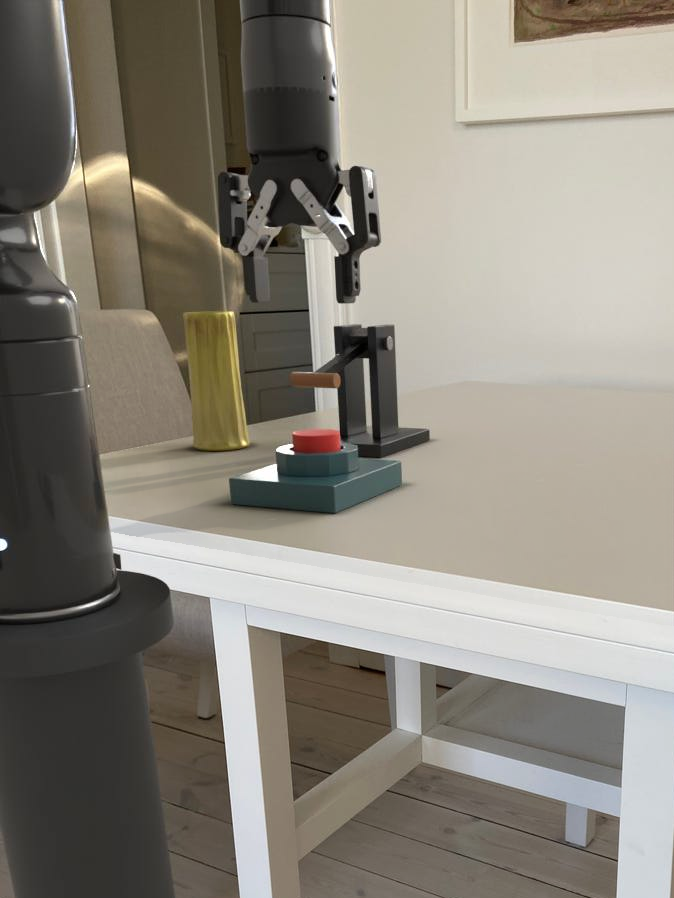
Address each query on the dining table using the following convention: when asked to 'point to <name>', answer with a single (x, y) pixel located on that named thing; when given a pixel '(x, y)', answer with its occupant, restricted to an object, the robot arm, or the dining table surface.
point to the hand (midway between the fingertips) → (302, 302)
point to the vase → (215, 381)
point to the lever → (334, 364)
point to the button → (316, 440)
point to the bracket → (372, 396)
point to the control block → (316, 480)
